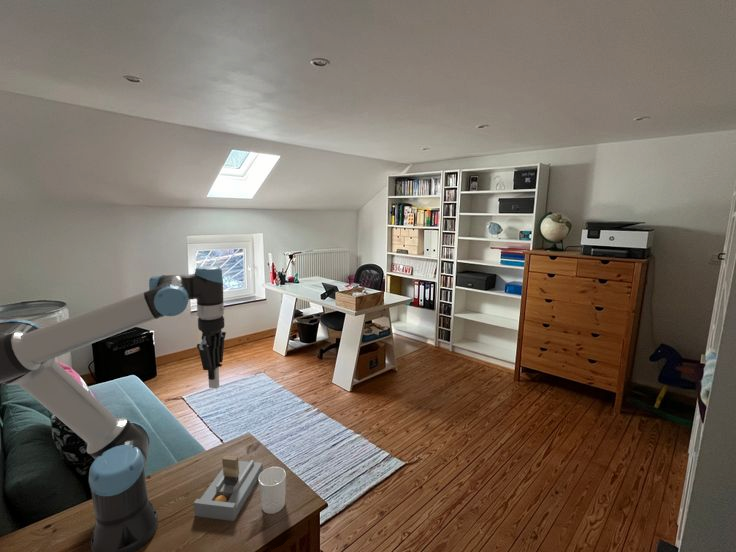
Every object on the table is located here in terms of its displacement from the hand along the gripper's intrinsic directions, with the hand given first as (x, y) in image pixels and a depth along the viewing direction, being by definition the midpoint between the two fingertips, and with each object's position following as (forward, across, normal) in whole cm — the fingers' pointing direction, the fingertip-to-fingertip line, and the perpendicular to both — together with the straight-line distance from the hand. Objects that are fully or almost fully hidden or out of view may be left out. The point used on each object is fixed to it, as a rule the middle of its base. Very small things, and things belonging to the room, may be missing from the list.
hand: (214, 386), depth 116 cm
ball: (+29, -14, -8) cm, 33 cm away
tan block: (+28, -7, -8) cm, 30 cm away
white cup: (+31, -10, -23) cm, 40 cm away
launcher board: (+31, -7, -8) cm, 33 cm away
